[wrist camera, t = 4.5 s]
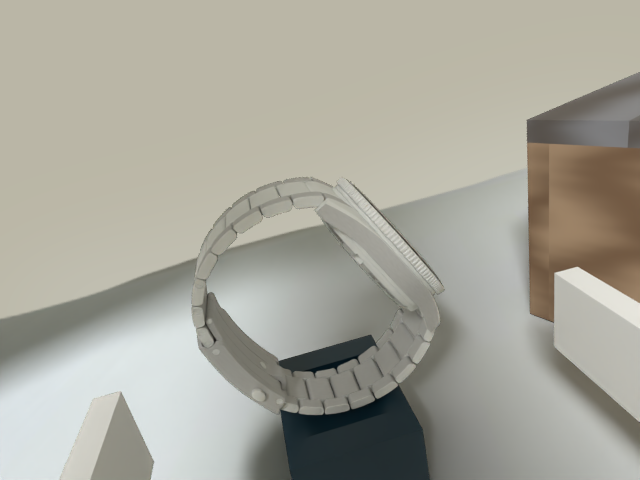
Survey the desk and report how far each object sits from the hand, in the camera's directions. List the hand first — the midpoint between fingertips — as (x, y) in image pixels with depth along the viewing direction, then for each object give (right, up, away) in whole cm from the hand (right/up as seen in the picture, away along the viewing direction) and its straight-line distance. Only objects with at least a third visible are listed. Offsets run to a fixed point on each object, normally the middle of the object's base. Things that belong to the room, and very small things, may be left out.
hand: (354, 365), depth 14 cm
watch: (0, -5, +4) cm, 7 cm away
